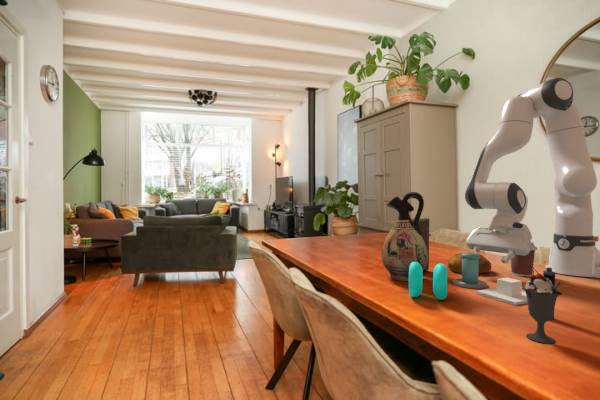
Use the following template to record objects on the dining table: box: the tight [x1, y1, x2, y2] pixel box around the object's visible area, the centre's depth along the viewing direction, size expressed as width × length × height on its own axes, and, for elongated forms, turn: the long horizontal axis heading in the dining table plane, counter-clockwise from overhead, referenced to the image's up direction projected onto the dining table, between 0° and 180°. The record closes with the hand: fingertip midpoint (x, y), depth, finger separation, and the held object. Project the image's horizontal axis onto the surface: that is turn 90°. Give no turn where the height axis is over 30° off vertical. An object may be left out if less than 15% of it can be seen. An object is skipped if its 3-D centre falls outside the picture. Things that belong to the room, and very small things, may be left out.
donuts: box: [408, 262, 448, 301], centre depth 101 cm, size 10×10×10 cm
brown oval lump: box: [447, 251, 492, 274], centre depth 136 cm, size 14×16×8 cm
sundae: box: [522, 265, 563, 345], centre depth 73 cm, size 7×7×15 cm
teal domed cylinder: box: [461, 252, 481, 284], centre depth 115 cm, size 5×5×9 cm
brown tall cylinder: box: [411, 217, 430, 272], centre depth 135 cm, size 8×7×20 cm
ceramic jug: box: [381, 191, 428, 282], centre depth 123 cm, size 17×15×30 cm
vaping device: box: [542, 268, 556, 320], centre depth 86 cm, size 3×5×12 cm, turn 28°
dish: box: [452, 277, 488, 290], centre depth 116 cm, size 10×10×1 cm
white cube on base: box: [475, 277, 528, 306], centre depth 102 cm, size 12×12×5 cm
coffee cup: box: [510, 241, 538, 278], centre depth 129 cm, size 9×9×12 cm
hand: (489, 260), depth 122 cm, fingers open, 8 cm apart
